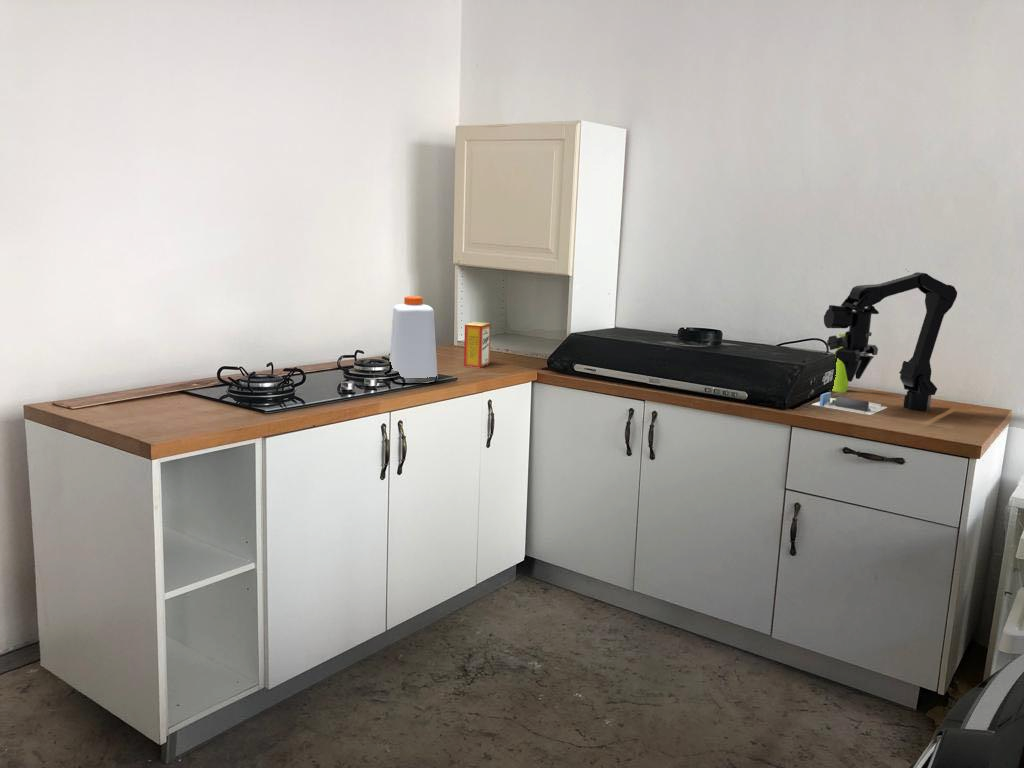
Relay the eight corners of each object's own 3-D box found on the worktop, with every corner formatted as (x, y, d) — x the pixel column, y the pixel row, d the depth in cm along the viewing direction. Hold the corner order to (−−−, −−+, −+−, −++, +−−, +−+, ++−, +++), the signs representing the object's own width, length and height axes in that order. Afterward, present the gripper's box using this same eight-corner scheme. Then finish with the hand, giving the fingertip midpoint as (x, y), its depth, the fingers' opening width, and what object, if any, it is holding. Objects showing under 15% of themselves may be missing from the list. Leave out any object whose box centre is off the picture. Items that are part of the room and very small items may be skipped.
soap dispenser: (851, 395, 285) (858, 336, 282) (829, 394, 287) (835, 334, 283) (848, 392, 291) (854, 333, 287) (827, 390, 292) (833, 332, 288)
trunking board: (887, 410, 264) (889, 396, 263) (870, 418, 253) (871, 403, 252) (830, 400, 276) (831, 387, 275) (810, 407, 265) (812, 393, 264)
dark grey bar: (866, 412, 258) (869, 403, 259) (864, 409, 256) (866, 400, 256) (837, 407, 264) (839, 398, 264) (834, 404, 262) (837, 395, 262)
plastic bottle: (430, 375, 298) (431, 294, 292) (439, 383, 284) (441, 299, 278) (386, 376, 293) (386, 294, 288) (394, 385, 279) (394, 299, 274)
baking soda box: (480, 368, 314) (481, 325, 311) (464, 366, 316) (464, 323, 313) (489, 364, 323) (490, 322, 320) (473, 362, 325) (474, 320, 322)
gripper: (844, 323, 267) (839, 372, 270) (820, 328, 253) (815, 379, 256) (881, 327, 260) (875, 377, 263) (858, 332, 246) (852, 385, 249)
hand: (853, 380), depth 258 cm, fingers open, 6 cm apart
